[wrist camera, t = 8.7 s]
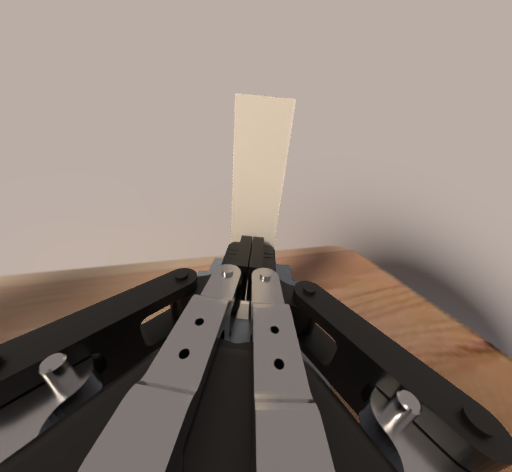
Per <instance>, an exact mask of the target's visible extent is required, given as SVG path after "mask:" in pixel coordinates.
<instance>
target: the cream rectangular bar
mask: <svg viewBox="0 0 512 472" xmlns="http://www.w3.org/2000/svg"><path fill="white" fill-rule="evenodd" d="M295 102H296V99H290V98H279V97H269V96H257V95H248V94H237V93H235V117H234V151H233V152H234V153H233V183H232V184H233V185H232V218H231V243H232V242H240V240H241V237H242V235H244V236H254V237H264V245H271V246H272V247H273V248H274V243H275V237H276V230H277V223H278V217H279V210H280V203H281V197H282V190H283V183H284V177H285V169H286V163H287V157H288V149H289V143H290V136H291V130H292V123H293V116H294V110H295ZM252 243H253V237H252ZM251 250H252V249H251ZM247 284H248V282H247ZM246 296H247V289H246ZM246 296H245V301H242V300H241V303H240V307H239V312H238V316H237V318H238V319H248V309H249V301H246Z"/></svg>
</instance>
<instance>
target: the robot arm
mask: <svg viewBox="0 0 512 472" xmlns="http://www.w3.org/2000/svg"><path fill="white" fill-rule="evenodd" d="M252 237H253V243H252ZM251 249H252V250H251ZM247 282H248V284H247ZM246 289H247V296H246ZM245 296H246V301H249V309H248V342H244V343H233V342H231V339H232V335H233V331H234V327H235V324H236V320H237V316H238V312H239V307H240V303H241V300H242V301H245ZM169 304H170V309H169V310H167V311H165V312H163V313H161V314H160V315H158V316H156V317H154V318H153V319H151V320H149V321H147V322H146V323H144V324H142V325H141V323H142V321H143V320H144V319H145V318H146V317H148V316H149V315H151V314H153V313H155V312H157V311H158V310H160V309H162V308H164V307H166V306H168V305H169ZM315 323H317V324H319V325H320V326H321V327H322V328H323V329H324V330H325V331H326V332H327V333H328V334H329V335H331V336H332V337H333V339H334V340H335V342H336V343H335V342H334V341H333V340H332V339H331V338H330V337H329V336H328V335H327V334H325V333H324V332H323V331H322V330H321V329H320V328H319V327H318V326H317V325H316V324H315ZM300 350H301V351H302V352H303V353H304V354H305V356H306V357H307V358H308V359H309V360H310V361H311V362H312V363H313V365H314V366H315V367H316V368H317V369H318V370H319V371H320V373H321V374H322V375H323V376H324V377H325V378H326V379H327V381H328V382H329V383H330V384H331V385H332V386H333V387H334V388H335V390H336V391H337V392H338V393H339V394H340V395H341V396H342V398H343V399H344V400H345V401H346V402H347V403H348V404H349V406H350V407H351V408H352V409H353V410H354V411H355V412H356V413H357V415H358V416H359V420H360V424H359V423H358V422H357V420H356V419H355V418H354V417H353V415H352V414H351V413H350V412H349V411H348V409H347V408H346V407H345V406H344V404H343V403H342V402H341V401H340V400H339V398H338V397H337V396H336V395H335V394H334V392H333V391H332V390H331V389H330V387H329V386H328V385H327V384H326V383H325V381H324V380H323V379H322V378H321V376H320V375H319V374H318V373H317V372H316V371H315V369H314V368H313V367H312V366H311V365H310V364H308V363H307V362H306V361H305V360H303V359H302V355H301V351H300ZM511 465H512V437H511V436H510V434H509V433H508V432H507V430H506V429H505V428H504V427H503V425H502V424H501V423H500V422H499V421H498V420H497V419H496V418H495V417H494V416H493V415H492V414H491V413H490V412H489V411H488V410H487V409H485V408H484V407H483V406H482V405H480V404H479V403H478V402H476V401H475V400H473V399H472V398H471V397H469V396H468V395H467V394H465V393H464V392H463V391H461V390H460V389H458V388H457V387H456V386H454V385H453V384H452V383H450V382H449V381H448V380H446V379H445V378H443V377H442V376H441V375H439V374H438V373H437V372H435V371H434V370H433V369H431V368H430V367H429V366H427V365H426V364H424V363H423V362H422V361H420V360H419V359H418V358H416V357H415V356H414V355H412V354H411V353H409V352H408V351H407V350H405V349H404V348H403V347H401V346H400V345H399V344H397V343H396V342H394V341H393V340H392V339H390V338H389V337H388V336H386V335H385V334H384V333H382V332H381V331H379V330H378V329H377V328H375V327H374V326H373V325H371V324H370V323H369V322H367V321H366V320H364V319H363V318H362V317H360V316H359V315H358V314H356V313H355V312H354V311H352V310H351V309H349V308H348V307H347V306H345V305H344V304H343V303H341V302H340V301H339V300H337V299H336V298H334V297H333V296H332V295H330V294H329V293H328V292H326V291H325V290H324V289H322V288H321V287H319V286H318V285H317V284H315V283H312V282H309V281H300V282H297V283H296V284H295V286H293V285H290V284H287V283H285V282H283V281H282V280H280V279H279V276H278V274H277V273H276V262H275V250H274V248H273V247H272V246H271V245H264V237H254V236H244V235H242V237H241V240H240V242H232V243H231V244H229V246H228V248H227V251H226V254H225V256H224V259H223V261H222V264H221V265H220V266H218V267H216V268H215V270H214V271H213V273H212V274H210V275H205V276H197V273H196V272H195V271H194V270H192V269H189V268H181V269H177V270H174V271H172V272H169V273H167V274H165V275H162V276H160V277H158V278H155V279H153V280H151V281H148V282H146V283H143V284H141V285H139V286H136V287H134V288H132V289H129V290H127V291H125V292H122V293H120V294H118V295H115V296H113V297H111V298H108V299H106V300H104V301H101V302H99V303H96V304H94V305H92V306H89V307H87V308H85V309H82V310H80V311H78V312H75V313H73V314H71V315H68V316H66V317H64V318H61V319H59V320H57V321H54V322H52V323H50V324H47V325H45V326H42V327H40V328H38V329H35V330H33V331H31V332H28V333H26V334H24V335H21V336H19V337H17V338H14V339H12V340H10V341H7V342H5V343H3V344H0V472H499V471H501V470H503V469H505V468H507V467H509V466H511Z"/></svg>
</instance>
